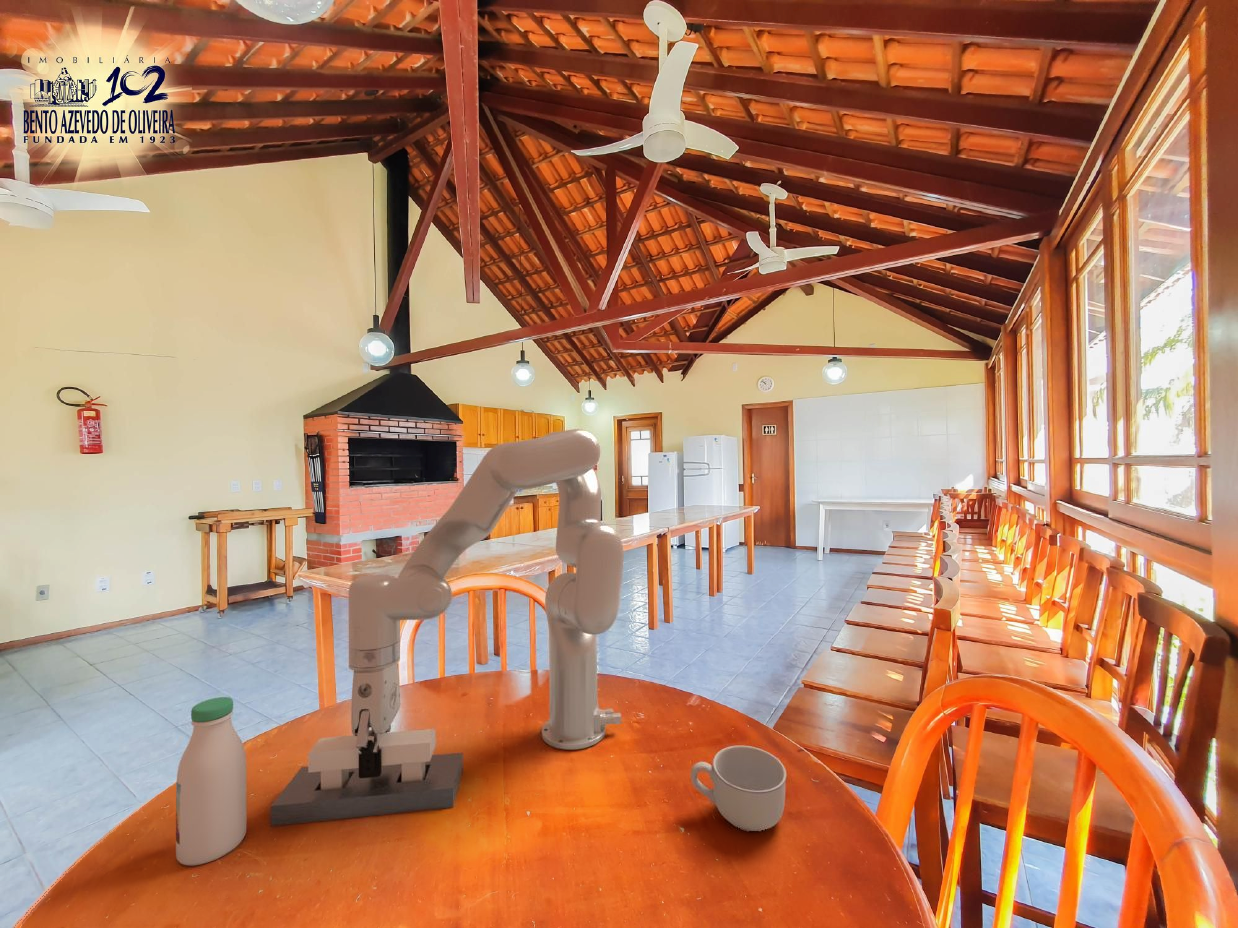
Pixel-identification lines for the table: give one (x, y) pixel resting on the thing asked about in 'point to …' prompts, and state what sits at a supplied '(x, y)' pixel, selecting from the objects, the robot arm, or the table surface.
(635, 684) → the table surface
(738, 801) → the teacup
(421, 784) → the grey base board
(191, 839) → the milk bottle
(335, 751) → the white peg bar
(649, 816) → the table surface
